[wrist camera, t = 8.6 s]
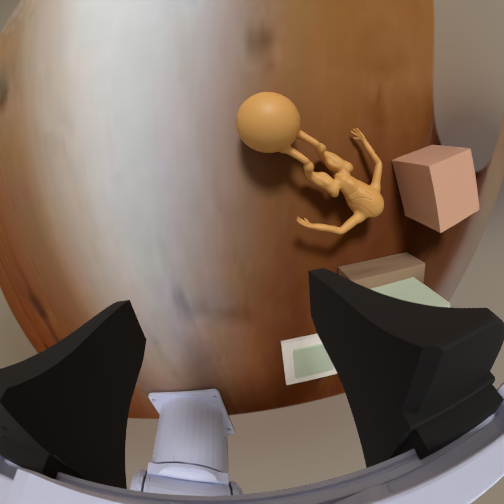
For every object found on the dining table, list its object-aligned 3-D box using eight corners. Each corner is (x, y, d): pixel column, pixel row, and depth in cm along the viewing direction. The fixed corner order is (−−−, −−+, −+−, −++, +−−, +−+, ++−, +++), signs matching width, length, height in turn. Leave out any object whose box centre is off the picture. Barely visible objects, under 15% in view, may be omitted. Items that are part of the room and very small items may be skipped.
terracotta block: (442, 196, 20) (479, 209, 16) (404, 215, 21) (440, 232, 16) (431, 144, 19) (470, 148, 14) (390, 160, 19) (429, 166, 14)
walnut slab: (401, 317, 24) (416, 332, 21) (339, 335, 24) (350, 354, 21) (406, 252, 22) (425, 263, 19) (337, 266, 22) (351, 280, 19)
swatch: (340, 369, 26) (341, 373, 26) (285, 382, 26) (286, 386, 26) (342, 327, 24) (344, 331, 24) (280, 341, 24) (281, 345, 24)
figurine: (195, 156, 16) (309, 239, 23) (233, 160, 11) (361, 267, 18) (265, 65, 16) (355, 163, 23) (321, 45, 11) (410, 174, 18)
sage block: (413, 277, 19) (450, 303, 15) (408, 327, 21) (437, 358, 16) (361, 291, 19) (393, 325, 15) (359, 343, 21) (384, 380, 16)
